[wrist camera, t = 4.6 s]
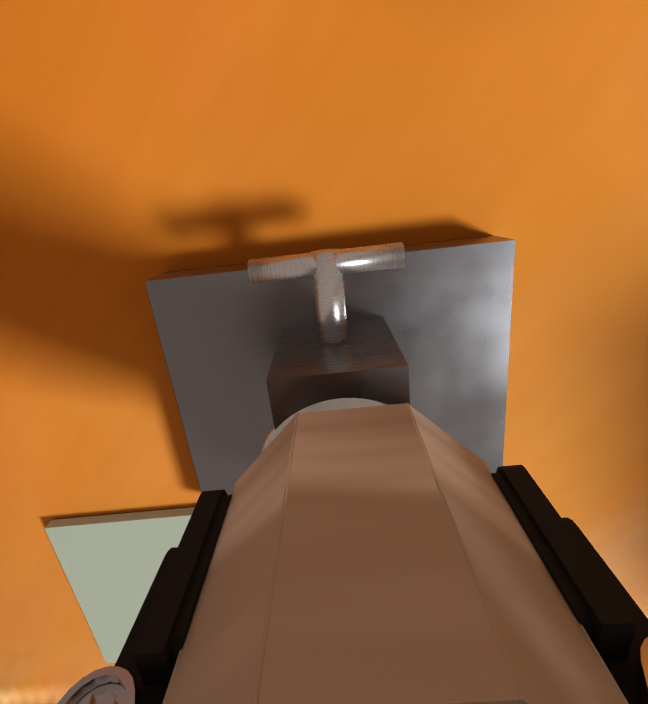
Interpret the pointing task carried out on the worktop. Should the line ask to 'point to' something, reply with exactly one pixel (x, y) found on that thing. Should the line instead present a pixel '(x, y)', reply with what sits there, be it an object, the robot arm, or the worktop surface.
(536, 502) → the robot arm
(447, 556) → the hollow octagonal tube
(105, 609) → the mat
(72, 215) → the worktop surface
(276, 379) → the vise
